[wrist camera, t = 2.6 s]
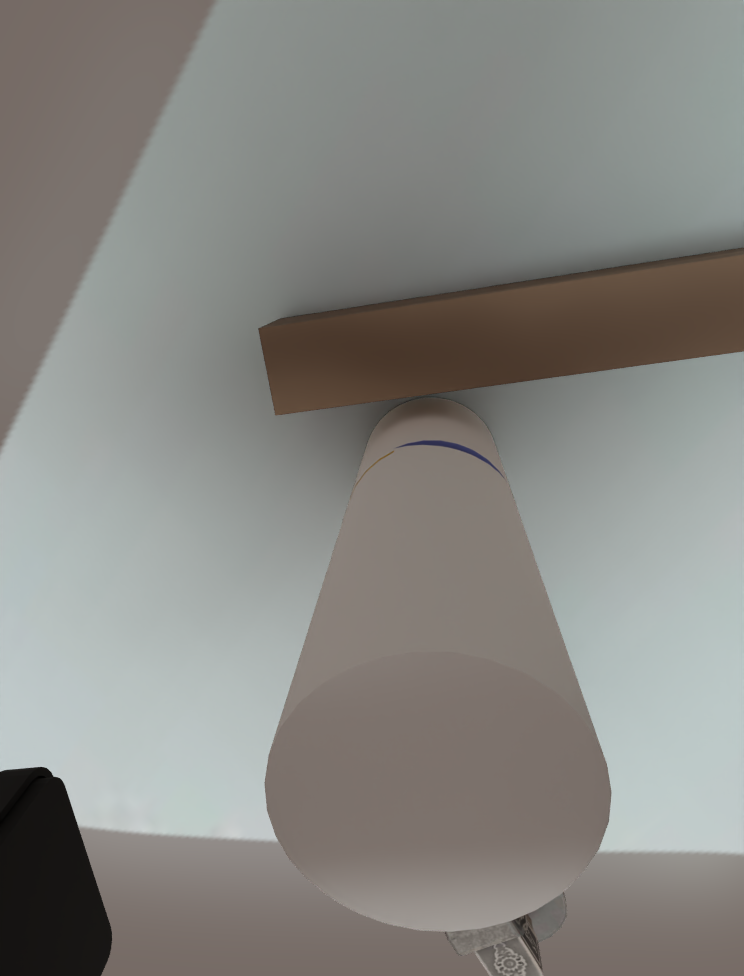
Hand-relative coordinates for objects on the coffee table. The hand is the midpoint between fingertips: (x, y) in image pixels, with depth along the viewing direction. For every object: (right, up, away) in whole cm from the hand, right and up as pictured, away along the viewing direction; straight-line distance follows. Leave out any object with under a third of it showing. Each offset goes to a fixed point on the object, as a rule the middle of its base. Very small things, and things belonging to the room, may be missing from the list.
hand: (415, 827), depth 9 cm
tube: (+1, +5, +14) cm, 15 cm away
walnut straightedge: (+9, +10, +12) cm, 18 cm away
